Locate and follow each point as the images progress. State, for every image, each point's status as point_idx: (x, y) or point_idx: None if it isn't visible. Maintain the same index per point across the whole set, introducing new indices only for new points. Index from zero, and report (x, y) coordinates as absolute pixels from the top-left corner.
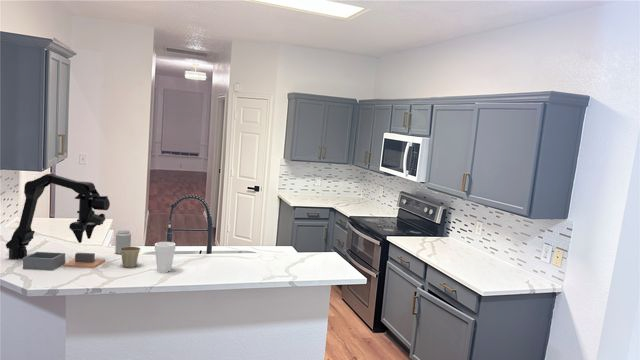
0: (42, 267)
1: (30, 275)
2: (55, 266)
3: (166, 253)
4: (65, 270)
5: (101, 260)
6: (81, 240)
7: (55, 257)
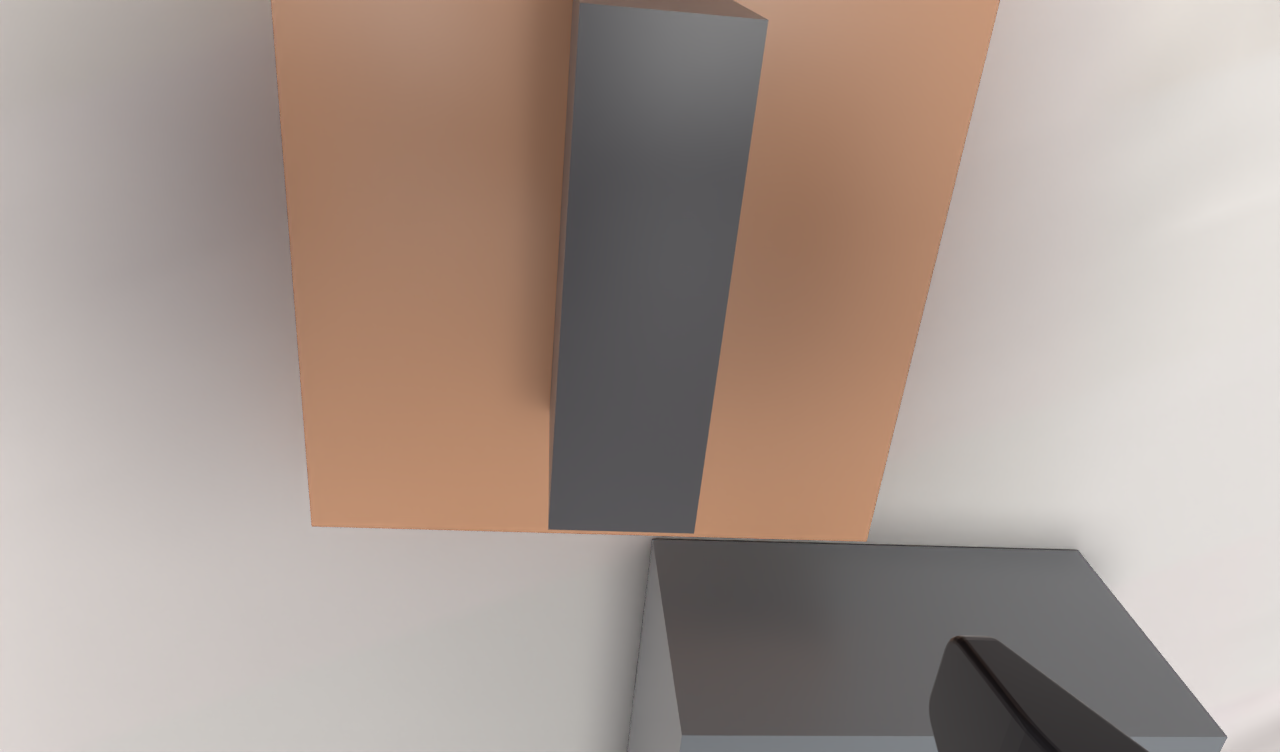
0: None
1: None
2: (1024, 599)
3: None
4: (987, 410)
5: None
6: (1061, 703)
7: None
